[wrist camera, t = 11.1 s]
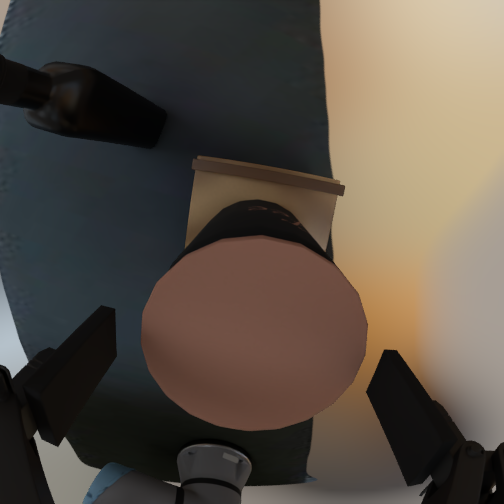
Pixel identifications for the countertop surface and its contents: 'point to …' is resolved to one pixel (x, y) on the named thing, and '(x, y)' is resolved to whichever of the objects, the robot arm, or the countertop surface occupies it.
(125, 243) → the countertop surface
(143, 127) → the wine bottle
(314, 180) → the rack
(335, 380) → the coffee jar
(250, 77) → the countertop surface
